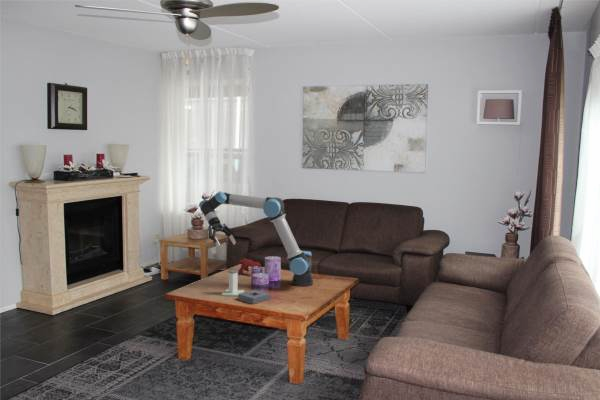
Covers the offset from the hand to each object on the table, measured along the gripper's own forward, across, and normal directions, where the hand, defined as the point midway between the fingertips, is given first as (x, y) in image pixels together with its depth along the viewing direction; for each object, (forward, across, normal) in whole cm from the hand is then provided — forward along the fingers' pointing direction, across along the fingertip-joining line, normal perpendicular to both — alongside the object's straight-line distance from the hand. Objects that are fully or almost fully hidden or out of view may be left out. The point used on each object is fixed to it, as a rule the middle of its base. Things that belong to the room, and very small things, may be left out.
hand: (227, 244), depth 349 cm
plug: (+29, +5, -12) cm, 31 cm away
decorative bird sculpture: (+5, -37, -37) cm, 53 cm away
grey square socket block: (+43, +4, +1) cm, 43 cm away
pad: (+29, +5, -12) cm, 32 cm away
